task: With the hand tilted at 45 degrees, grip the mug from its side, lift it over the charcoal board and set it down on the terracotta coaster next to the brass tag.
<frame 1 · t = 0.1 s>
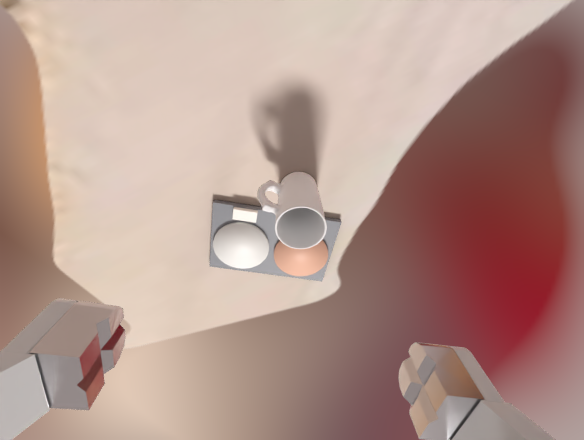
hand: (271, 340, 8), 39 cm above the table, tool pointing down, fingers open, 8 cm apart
coaster board: (272, 242, 54), on the table
mug: (289, 184, 48), on the table
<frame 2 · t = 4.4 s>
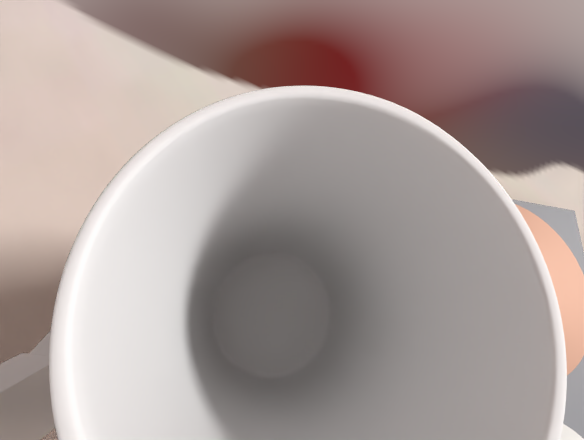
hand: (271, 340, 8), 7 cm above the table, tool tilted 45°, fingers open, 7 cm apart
coaster board: (480, 389, 16), on the table
mug: (256, 342, 15), on the table, touching gripper
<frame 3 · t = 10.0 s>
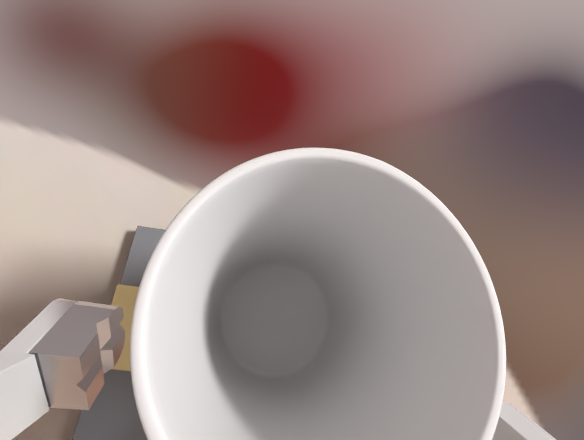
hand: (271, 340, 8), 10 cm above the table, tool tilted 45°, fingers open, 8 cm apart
mug: (261, 345, 16), point 1 cm above the table, touching coaster board, gripper
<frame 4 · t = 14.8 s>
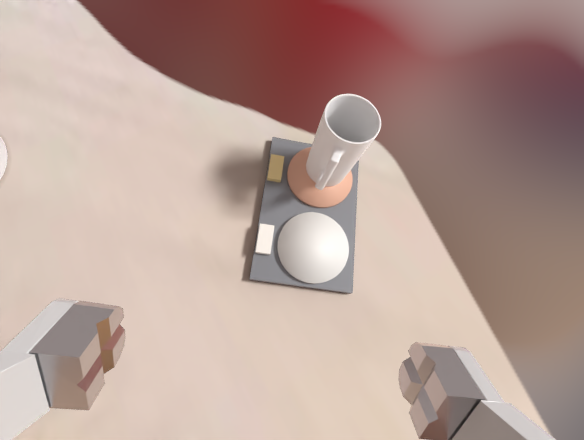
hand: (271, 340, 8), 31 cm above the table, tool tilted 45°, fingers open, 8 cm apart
coaster board: (308, 212, 44), on the table
mug: (321, 177, 44), point 1 cm above the table, touching coaster board
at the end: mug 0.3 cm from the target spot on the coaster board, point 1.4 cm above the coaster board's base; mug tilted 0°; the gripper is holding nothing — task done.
